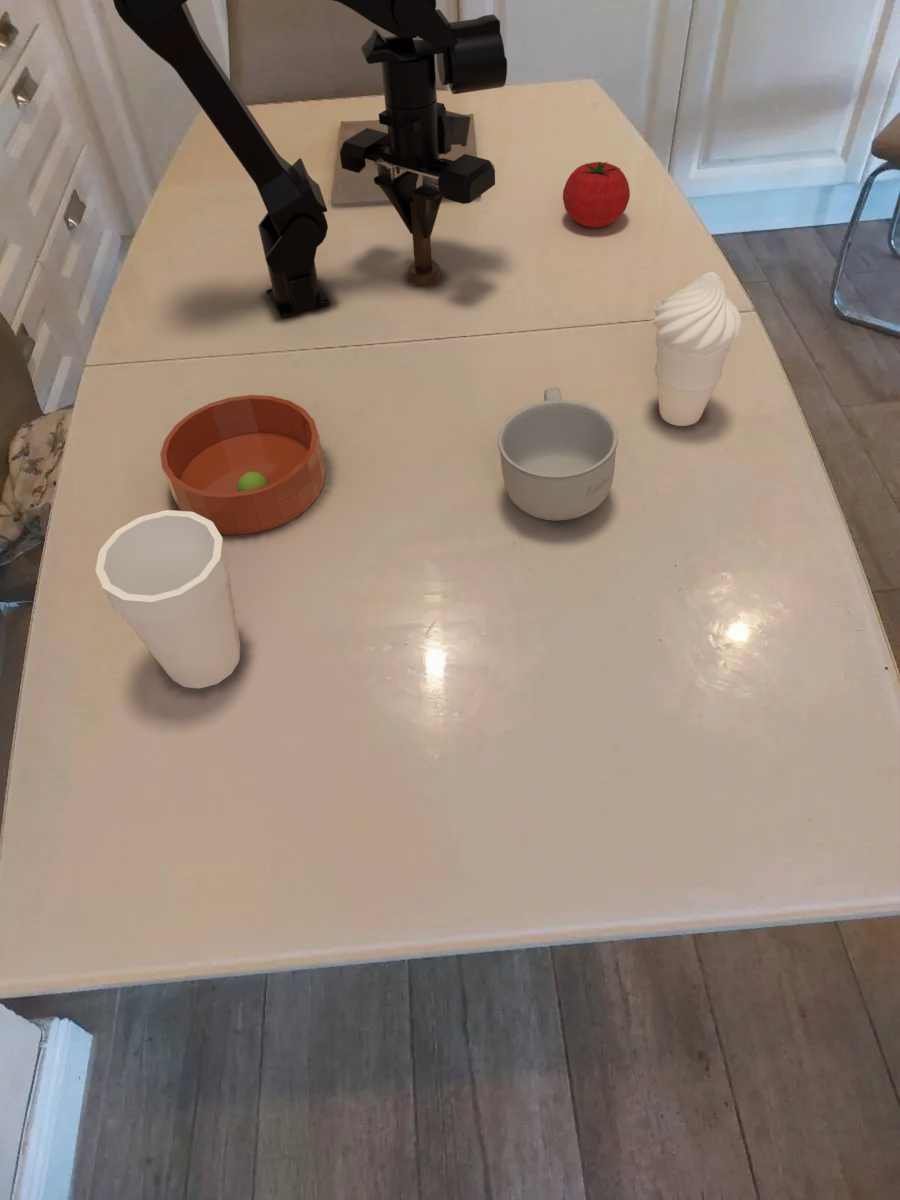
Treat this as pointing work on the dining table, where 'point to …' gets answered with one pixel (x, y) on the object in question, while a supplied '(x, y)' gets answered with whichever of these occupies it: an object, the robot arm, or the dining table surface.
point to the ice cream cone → (692, 347)
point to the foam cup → (175, 593)
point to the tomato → (596, 194)
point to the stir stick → (421, 256)
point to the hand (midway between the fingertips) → (420, 234)
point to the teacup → (558, 457)
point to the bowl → (244, 462)
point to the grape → (251, 481)
